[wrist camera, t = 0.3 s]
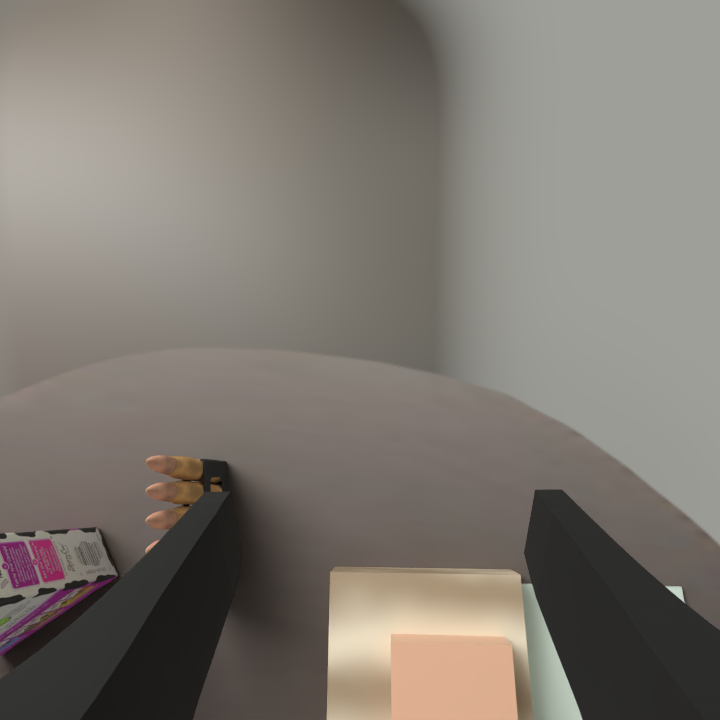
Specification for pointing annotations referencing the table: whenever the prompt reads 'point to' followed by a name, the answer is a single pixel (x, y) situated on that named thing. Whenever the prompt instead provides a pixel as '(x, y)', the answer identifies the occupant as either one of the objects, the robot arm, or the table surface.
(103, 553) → the candy bar box
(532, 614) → the mat
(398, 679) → the peach flat block
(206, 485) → the ammunition clip
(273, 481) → the table surface
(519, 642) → the riser
